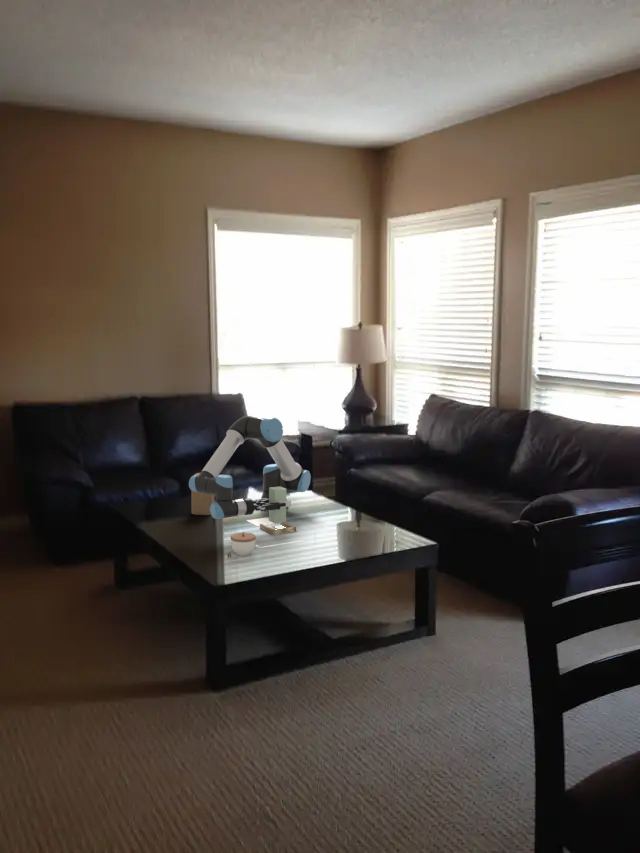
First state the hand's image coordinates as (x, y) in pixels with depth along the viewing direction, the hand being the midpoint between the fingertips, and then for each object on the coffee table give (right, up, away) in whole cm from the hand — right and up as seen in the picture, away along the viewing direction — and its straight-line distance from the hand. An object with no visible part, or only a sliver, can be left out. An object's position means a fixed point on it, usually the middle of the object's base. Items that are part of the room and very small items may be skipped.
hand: (286, 501), depth 356 cm
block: (-44, -9, +28) cm, 53 cm away
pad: (-13, -12, +12) cm, 21 cm away
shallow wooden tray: (-5, -14, -1) cm, 14 cm away
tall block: (-5, -9, -2) cm, 10 cm away
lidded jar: (-17, -19, -37) cm, 45 cm away
